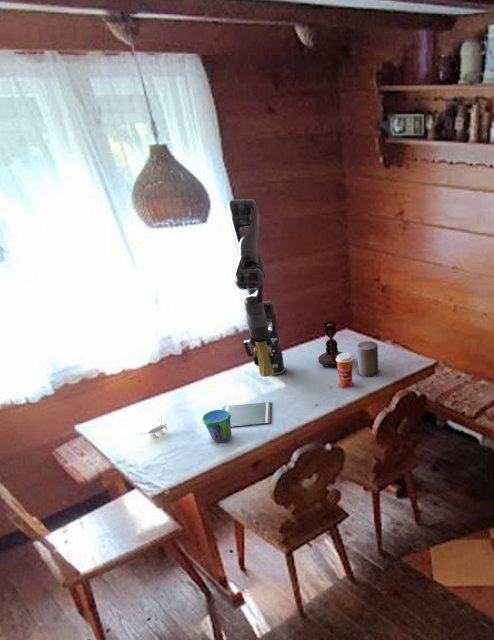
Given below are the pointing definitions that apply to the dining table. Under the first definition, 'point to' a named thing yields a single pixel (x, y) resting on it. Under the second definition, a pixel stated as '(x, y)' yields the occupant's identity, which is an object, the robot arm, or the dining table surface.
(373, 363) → the pillar candle
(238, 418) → the green board
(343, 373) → the paper cup
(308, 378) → the dining table surface
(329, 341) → the dark brown sculpture
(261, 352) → the vase
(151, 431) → the grey animal figurine
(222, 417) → the snack cup
